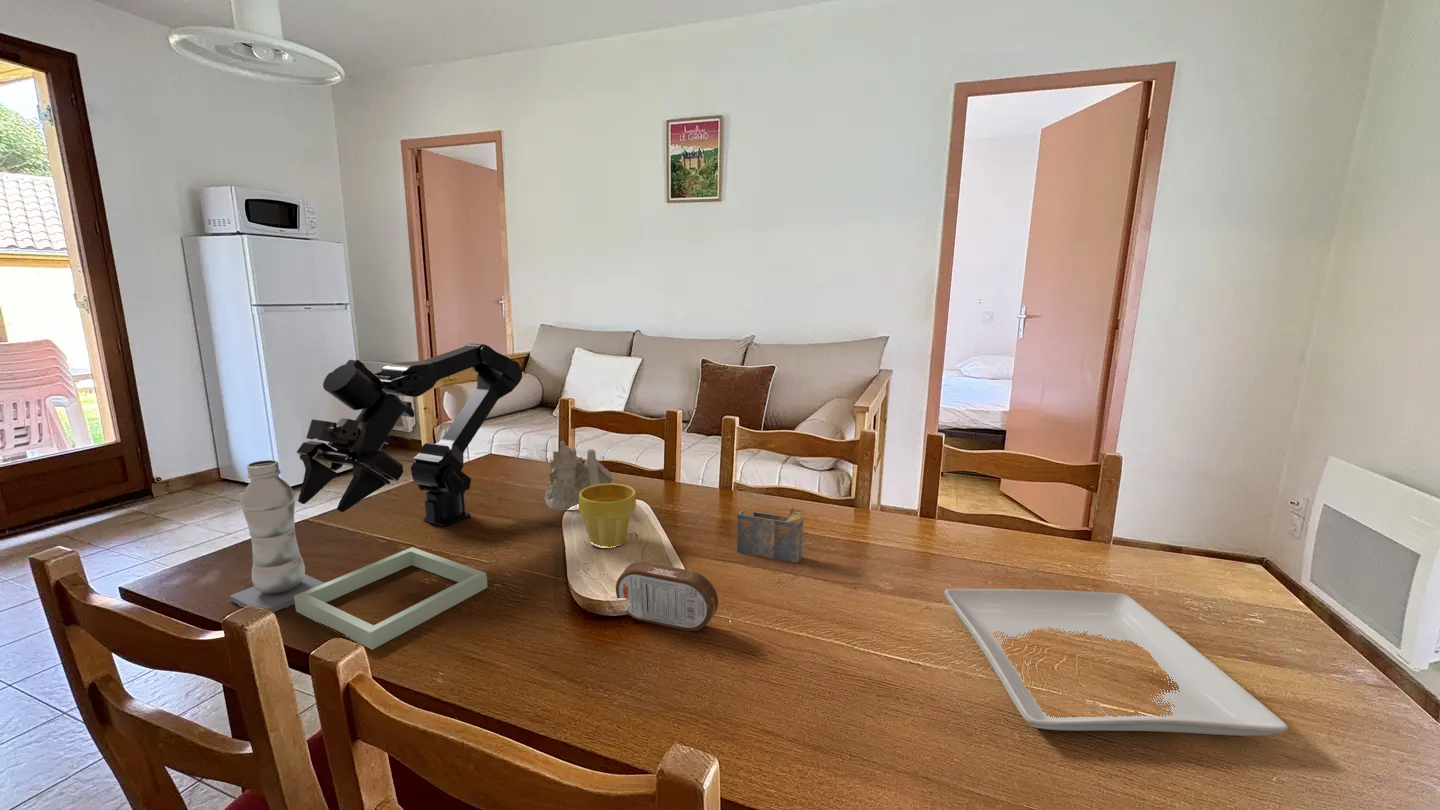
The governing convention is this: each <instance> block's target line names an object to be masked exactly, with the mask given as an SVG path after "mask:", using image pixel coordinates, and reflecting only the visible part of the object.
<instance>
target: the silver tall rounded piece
mask: <svg viewBox="0 0 1440 810" xmlns="http://www.w3.org/2000/svg"><path fill="white" fill-rule="evenodd" d="M246 468H247V478H248V479H250V482H249V483H248V485H247V486H246V487H245V489H244V491H243V493H242V494H241V497H240V507H241V509H242V513H243V516H244V519H245V522H246V525H247V527H248V531H249V536H250V540H251V545H252V546H251V547H252V566H251V567H252V568H251V581H252V582H251V583H252V584H253V586H254V587H255V589H256V590H258V591H259V592H260V593H263V594H277V593H282V592H285V591H289V590H291V589H293V588H295V587H297V586H298V585H300V583H301V582H302V580H303V579H304V576H305V574H306V566H305V563H304V559H303V557H302V554H301V552H300V548H299V545H298V541H297V536H296V529H295V527H296V524H295V523H296V522H295V508H296V507H295V504H296V501H295V500H296V498H295V497H296V496H295V494H296V493H295V492H294V489H293V488H292V486H291V485H289V484H288V483H287V482H286V481H285V480H283V478H281V477H280V474H281V472H282V471H281V469H280V466H279V461H278V460H275V459H265V460H264V459H263V460H258V461H253V462H251V463H248V464H247V466H246Z"/></svg>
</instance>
